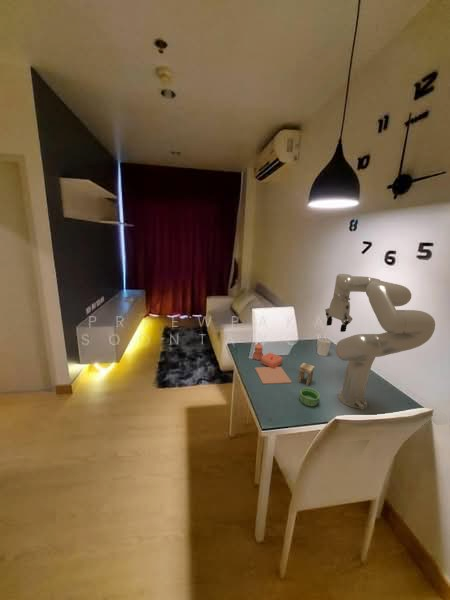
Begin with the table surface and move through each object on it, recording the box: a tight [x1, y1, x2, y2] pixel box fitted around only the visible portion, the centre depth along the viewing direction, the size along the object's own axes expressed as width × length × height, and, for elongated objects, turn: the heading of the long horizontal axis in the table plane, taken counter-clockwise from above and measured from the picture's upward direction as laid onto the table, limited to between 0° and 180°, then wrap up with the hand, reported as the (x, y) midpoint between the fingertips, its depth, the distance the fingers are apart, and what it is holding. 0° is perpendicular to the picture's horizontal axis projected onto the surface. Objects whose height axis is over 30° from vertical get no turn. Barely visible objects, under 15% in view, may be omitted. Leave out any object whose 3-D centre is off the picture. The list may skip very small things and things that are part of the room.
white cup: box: [316, 337, 332, 357], centre depth 167 cm, size 8×8×10 cm
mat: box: [254, 366, 293, 385], centre depth 138 cm, size 16×16×1 cm
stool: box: [297, 362, 315, 387], centre depth 133 cm, size 6×6×9 cm
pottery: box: [252, 342, 284, 369], centre depth 153 cm, size 18×10×10 cm, turn 46°
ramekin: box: [299, 387, 321, 407], centre depth 118 cm, size 9×9×4 cm
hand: (335, 328), depth 134 cm, fingers open, 9 cm apart
